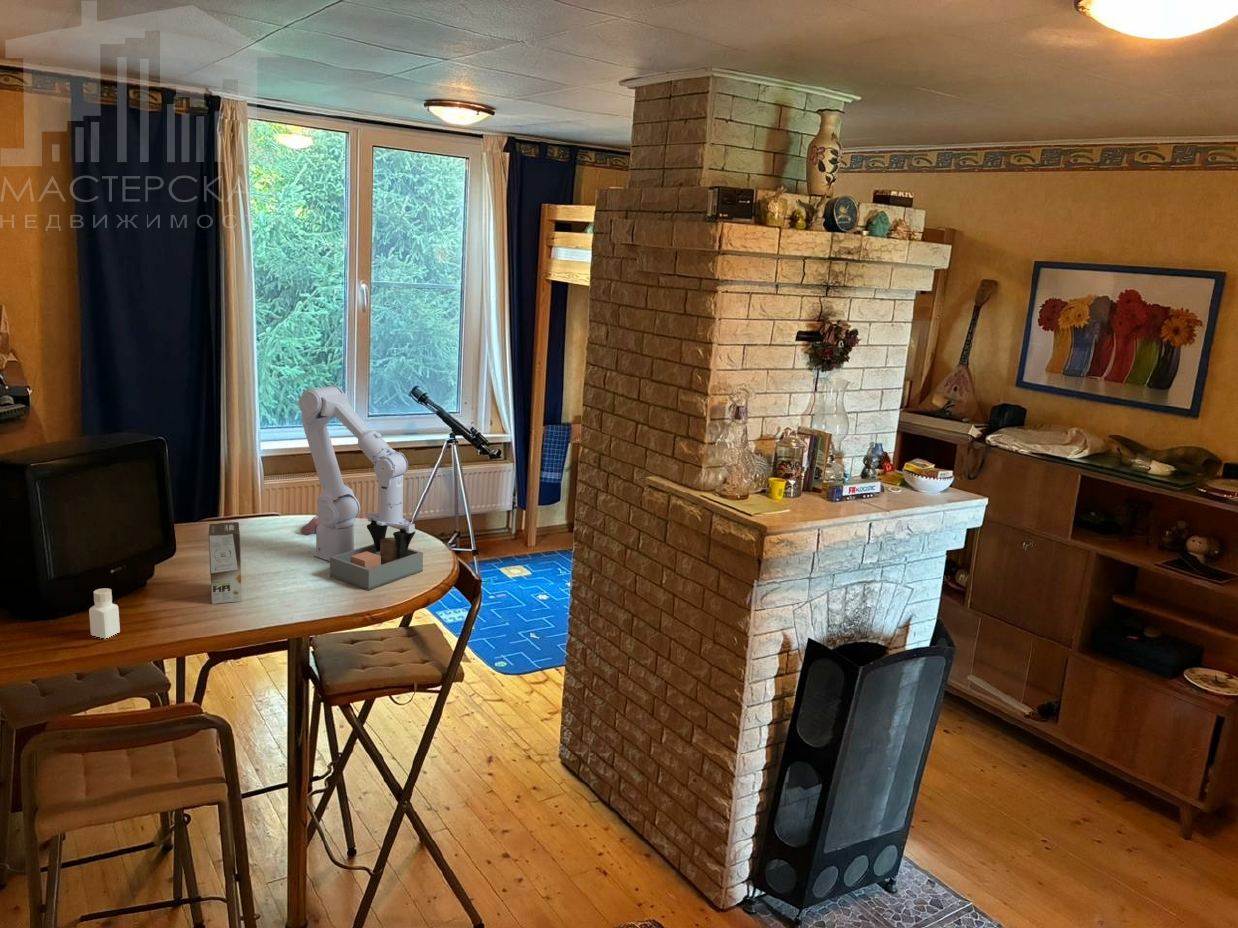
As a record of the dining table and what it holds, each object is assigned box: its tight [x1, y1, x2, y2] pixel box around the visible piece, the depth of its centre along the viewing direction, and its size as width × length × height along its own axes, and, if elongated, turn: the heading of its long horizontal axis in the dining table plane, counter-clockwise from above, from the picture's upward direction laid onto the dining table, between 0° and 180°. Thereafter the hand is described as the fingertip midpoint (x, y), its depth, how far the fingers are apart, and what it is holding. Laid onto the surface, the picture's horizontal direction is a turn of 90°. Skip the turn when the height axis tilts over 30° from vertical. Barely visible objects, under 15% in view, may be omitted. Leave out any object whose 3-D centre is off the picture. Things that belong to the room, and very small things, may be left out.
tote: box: [329, 543, 424, 591], centre depth 230 cm, size 14×18×5 cm
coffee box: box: [208, 521, 242, 605], centre depth 210 cm, size 9×6×16 cm
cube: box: [351, 551, 381, 569], centre depth 227 cm, size 5×5×5 cm
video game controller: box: [300, 512, 321, 536], centre depth 259 cm, size 10×5×7 cm, turn 170°
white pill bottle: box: [88, 587, 121, 640], centre depth 187 cm, size 4×4×10 cm
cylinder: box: [380, 537, 398, 565], centre depth 233 cm, size 5×5×7 cm
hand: (390, 554), depth 233 cm, fingers open, 7 cm apart
